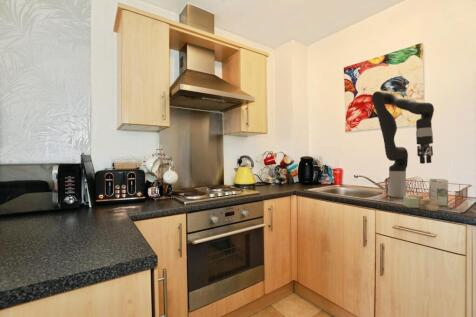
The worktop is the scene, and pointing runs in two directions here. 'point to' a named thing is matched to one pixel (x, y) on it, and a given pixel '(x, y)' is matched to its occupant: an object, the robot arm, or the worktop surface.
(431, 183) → the syrup box
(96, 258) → the worktop surface
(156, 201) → the worktop surface
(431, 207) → the beech cube
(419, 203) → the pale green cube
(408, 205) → the sage cube
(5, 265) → the worktop surface
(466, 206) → the worktop surface
